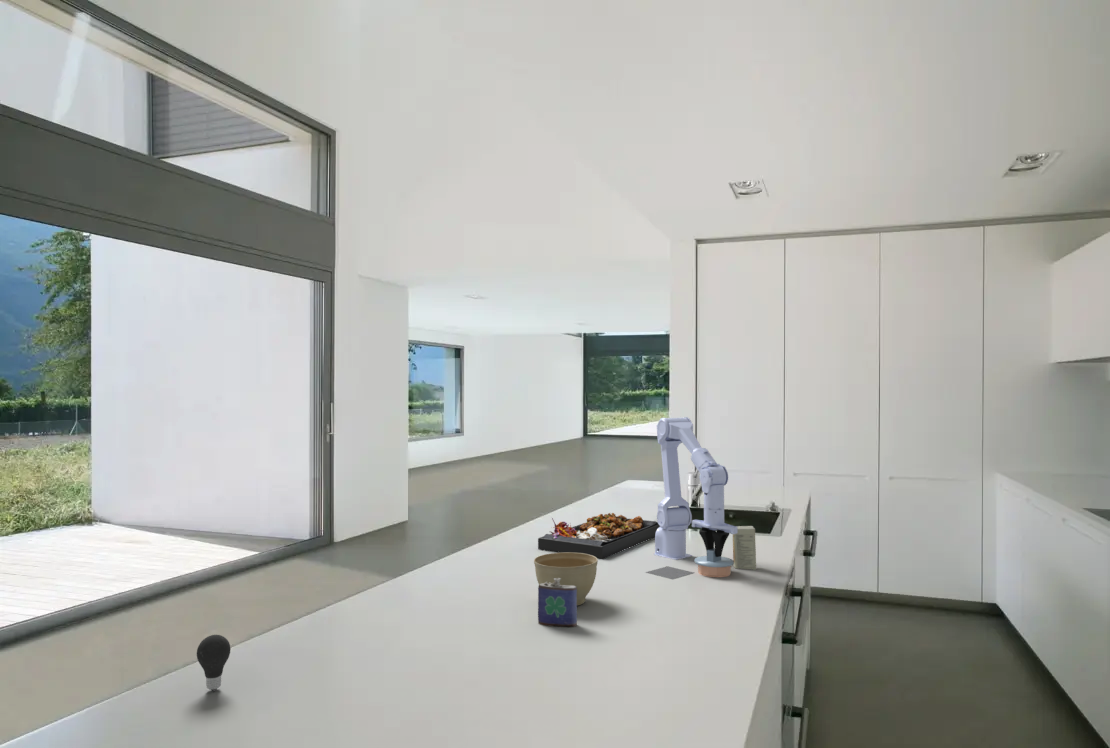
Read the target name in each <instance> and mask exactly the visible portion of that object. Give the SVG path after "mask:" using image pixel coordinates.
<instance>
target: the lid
mask: <svg viewBox="0 0 1110 748" xmlns="http://www.w3.org/2000/svg"><path fill="white" fill-rule="evenodd" d="M694 563H695V564H696V565H697V566H698V565H702V566H707V567H728V566H731V567H732V566H734V565H733V564H734V561H733V558H731V557H726V556H722V555H721V556H719V557H715V547H714V549H710V550H707V551H706V555H703V556H697V557H695V558H694Z"/></svg>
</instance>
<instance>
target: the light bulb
mask: <svg viewBox="0 0 1110 748" xmlns="http://www.w3.org/2000/svg"><path fill="white" fill-rule="evenodd" d="M230 654H231V644H230V641H229V640H228V639H227V638H226V637H225V636H223V635H220V634H212V635H211V634H210V635H208V636H206V637H205V638H203V639H202V640H201V642H200V643H199V644H198V647H197V649H196V659H197V661H198V663H199V665H200V666H201V668H202V669H203V672H204V676H205V678H206V681H205V685H206V689H208V690H210V691H211V692H215V691H217V690H218V689H219V688H220V687H221V686H222V675H223V672H224V667H225V665H226V663H227V662H228V660H229V658H230Z"/></svg>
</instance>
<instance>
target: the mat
mask: <svg viewBox="0 0 1110 748" xmlns="http://www.w3.org/2000/svg"><path fill="white" fill-rule="evenodd" d="M644 573H646V574H650V575H654V576H658V577H662V578H665V579H669V580H675V579H679V578H682V577H685V576H690V575H693V574H695V572H693V571H689V570H684V569H680V568H676V567H674V566H673V567H672V566H662V567H659V568H657V569H652V570H648V571H645V572H644Z"/></svg>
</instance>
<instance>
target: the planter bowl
mask: <svg viewBox="0 0 1110 748" xmlns="http://www.w3.org/2000/svg"><path fill="white" fill-rule="evenodd" d="M598 562H599V559H598V558H596V557H595V556H592V555H589V554H584V553H569V552H565V553H558V552H552V553H546V554H542V555H538V556H536V557H534V560H533V564H534V569H535V576H536V581H537V583H538V585H539V584H541V583H545V582H547V583H548V584H549V582H550V583H553V582H554V581H555V580H554V578H561V580H560V581H559V582H560V585H568V586H571V585H572V586H576V588H577V606H581V605H582V604H583V605H584V603H585V602H586V598H587V596H588V595H589V593H590V591H591V590H592V588H593V586H594V583H595V580H596V577H597V569H598V568H597V567H598Z"/></svg>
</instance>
